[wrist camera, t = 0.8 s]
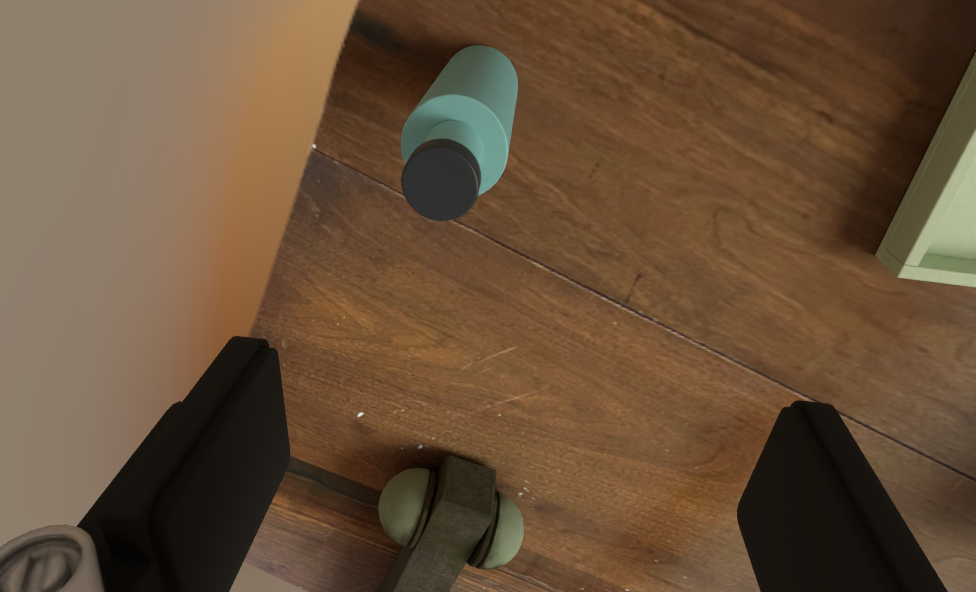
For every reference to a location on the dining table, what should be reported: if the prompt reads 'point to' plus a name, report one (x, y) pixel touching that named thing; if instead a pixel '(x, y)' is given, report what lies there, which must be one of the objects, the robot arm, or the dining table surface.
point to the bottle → (459, 134)
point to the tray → (940, 202)
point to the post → (447, 525)
